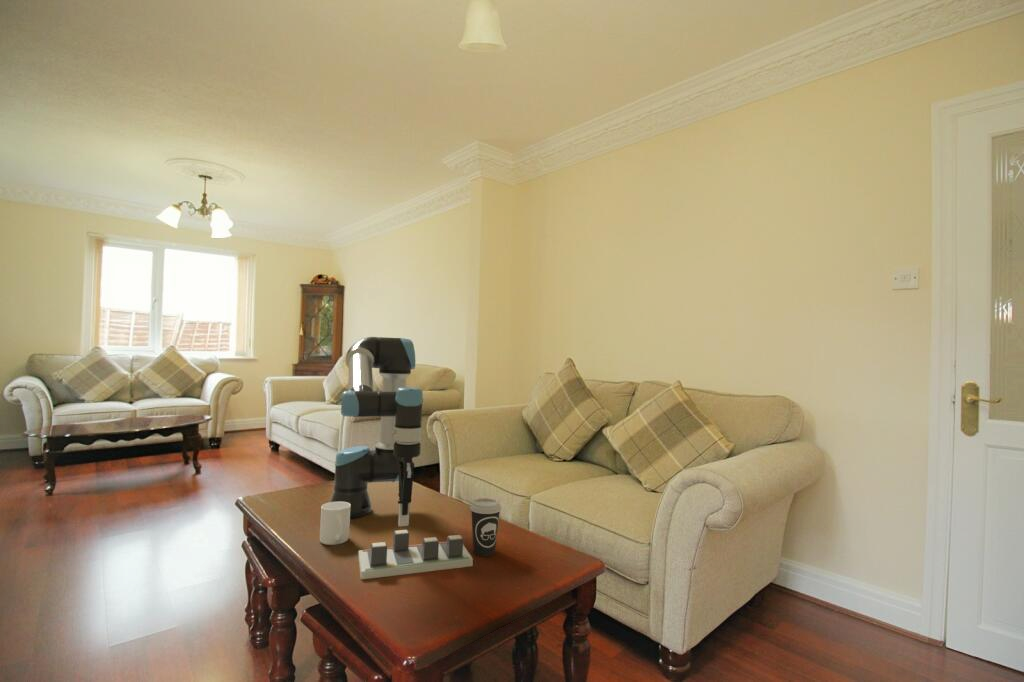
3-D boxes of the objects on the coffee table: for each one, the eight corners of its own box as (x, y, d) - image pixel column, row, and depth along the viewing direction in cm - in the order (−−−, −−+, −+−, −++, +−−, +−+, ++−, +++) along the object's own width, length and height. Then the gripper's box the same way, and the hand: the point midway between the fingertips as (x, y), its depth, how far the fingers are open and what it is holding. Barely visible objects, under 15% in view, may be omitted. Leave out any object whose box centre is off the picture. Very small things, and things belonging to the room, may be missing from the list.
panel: (358, 557, 137) (358, 549, 137) (460, 546, 147) (460, 539, 147) (361, 579, 123) (361, 570, 124) (472, 566, 134) (472, 558, 134)
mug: (325, 551, 140) (327, 514, 140) (316, 538, 150) (318, 503, 150) (355, 546, 144) (356, 510, 145) (344, 533, 154) (346, 500, 155)
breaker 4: (446, 552, 137) (447, 535, 137) (459, 551, 138) (460, 534, 138) (448, 556, 134) (449, 539, 134) (462, 555, 135) (463, 538, 135)
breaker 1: (370, 560, 129) (370, 542, 129) (385, 559, 131) (386, 541, 131) (370, 565, 126) (371, 547, 126) (386, 563, 128) (387, 545, 128)
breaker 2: (393, 546, 139) (393, 530, 139) (406, 545, 140) (407, 529, 140) (394, 550, 136) (395, 534, 136) (408, 549, 138) (409, 532, 138)
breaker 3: (421, 555, 134) (422, 538, 134) (435, 553, 135) (436, 536, 136) (423, 559, 131) (424, 542, 131) (438, 557, 133) (438, 540, 133)
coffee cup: (504, 548, 147) (506, 499, 148) (492, 560, 138) (495, 508, 139) (475, 543, 150) (477, 495, 151) (462, 555, 141) (465, 503, 142)
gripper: (391, 438, 141) (387, 518, 140) (396, 446, 129) (392, 534, 128) (416, 437, 144) (413, 516, 143) (424, 445, 132) (420, 532, 131)
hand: (403, 525), depth 136 cm, fingers closed
